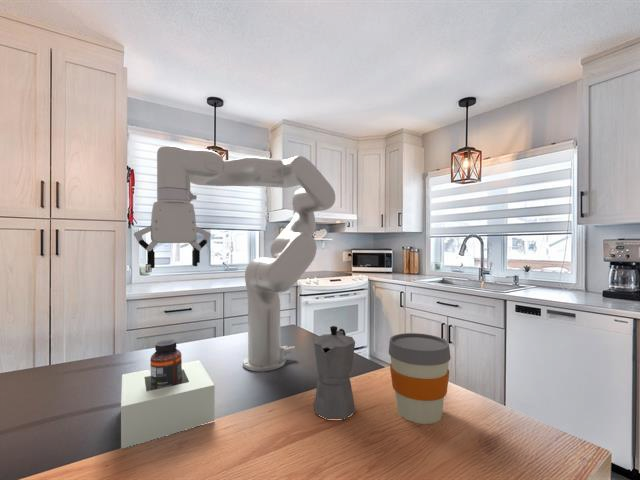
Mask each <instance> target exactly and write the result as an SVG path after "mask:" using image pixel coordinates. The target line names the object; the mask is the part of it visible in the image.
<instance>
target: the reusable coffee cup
mask: <svg viewBox="0 0 640 480" xmlns="http://www.w3.org/2000/svg"><path fill="white" fill-rule="evenodd" d="M388 355H389V356H390V361H391V363H390V364H389V370H390V377H391V385H392V389H393V390H394V392H395V400H396V408H397V413H398V414H399V416H401V417H402V416H403V417H404V419H405V420H406V421H409V422H412V423H416V424H421V425H428V424H429V425H430V424H435V423H437V422H439V421H441V419H442V416H443V410H444V400H445V398H446V396H447V393H448V385H449V377H450V369H448V367H449V361H451V350H450V343H449V342H448V340H446V339H444V338H442V337H439V336H436V335H432V334H427V333H418V332H413V333H412V332H407V333H406V332H405V333H398V334H394V335H393V336H390V338H389V345H388ZM403 417H402V418H403Z"/></svg>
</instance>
